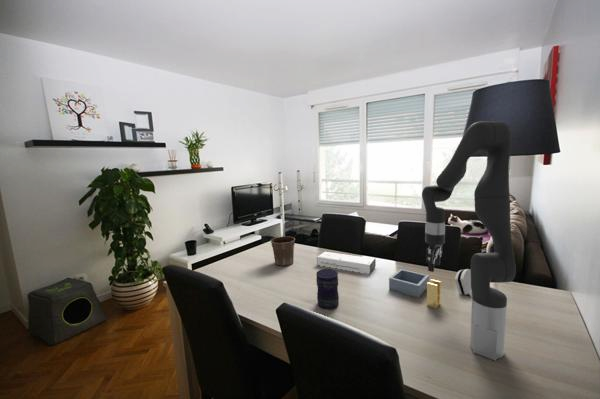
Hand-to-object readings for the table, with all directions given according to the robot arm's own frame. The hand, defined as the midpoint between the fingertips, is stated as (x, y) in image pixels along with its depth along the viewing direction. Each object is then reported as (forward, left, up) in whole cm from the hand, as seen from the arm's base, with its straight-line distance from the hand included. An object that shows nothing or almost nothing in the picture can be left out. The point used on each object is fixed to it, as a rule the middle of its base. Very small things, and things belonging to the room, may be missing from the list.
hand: (434, 268), depth 115 cm
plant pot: (-4, +91, -17) cm, 93 cm away
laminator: (+15, +55, -18) cm, 60 cm away
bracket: (0, 0, -17) cm, 17 cm away
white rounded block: (+25, -8, -17) cm, 31 cm away
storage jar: (-28, +37, -17) cm, 50 cm away
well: (+9, +14, -17) cm, 24 cm away
